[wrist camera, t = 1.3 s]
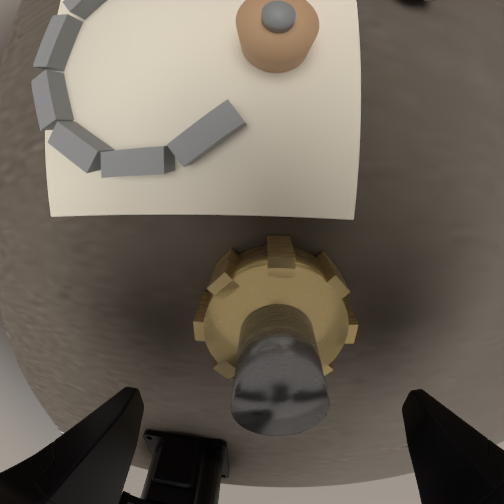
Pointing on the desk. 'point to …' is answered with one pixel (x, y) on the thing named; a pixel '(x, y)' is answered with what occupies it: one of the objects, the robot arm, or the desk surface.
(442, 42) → the desk surface
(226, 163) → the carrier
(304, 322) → the planet gear
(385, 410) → the desk surface
